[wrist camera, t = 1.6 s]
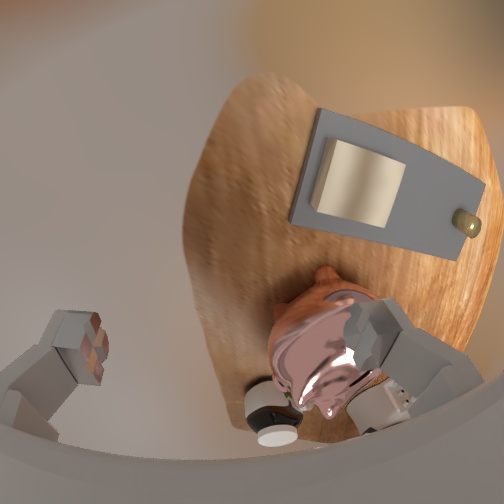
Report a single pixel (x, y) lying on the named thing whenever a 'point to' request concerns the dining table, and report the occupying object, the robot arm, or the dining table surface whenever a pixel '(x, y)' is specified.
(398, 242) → the board
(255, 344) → the dining table surface
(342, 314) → the piggy bank
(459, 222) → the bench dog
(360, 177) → the beige flat block
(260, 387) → the spread jar
